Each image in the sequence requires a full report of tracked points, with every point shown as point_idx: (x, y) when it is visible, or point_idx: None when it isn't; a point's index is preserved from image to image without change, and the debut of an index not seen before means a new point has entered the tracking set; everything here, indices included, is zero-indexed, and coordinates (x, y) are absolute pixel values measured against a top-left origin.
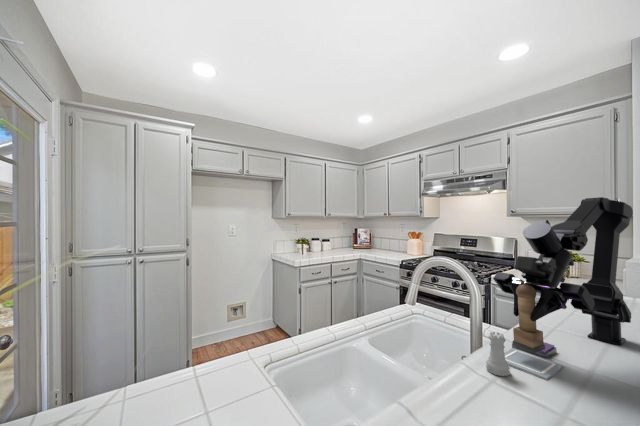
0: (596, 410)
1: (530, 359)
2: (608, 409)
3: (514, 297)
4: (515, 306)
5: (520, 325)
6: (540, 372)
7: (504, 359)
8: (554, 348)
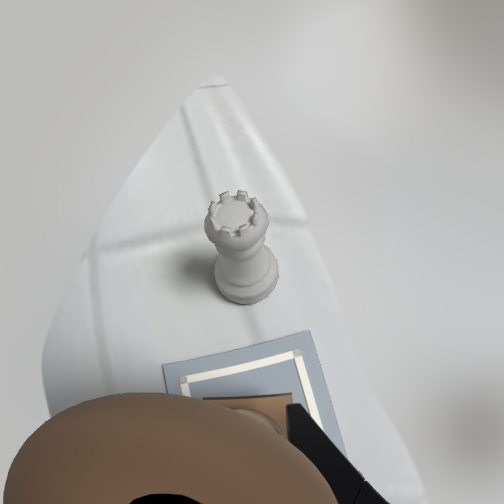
0: (69, 330)
1: None
2: (62, 356)
3: (380, 501)
4: (313, 441)
5: (258, 412)
6: (186, 380)
7: (221, 261)
8: None
